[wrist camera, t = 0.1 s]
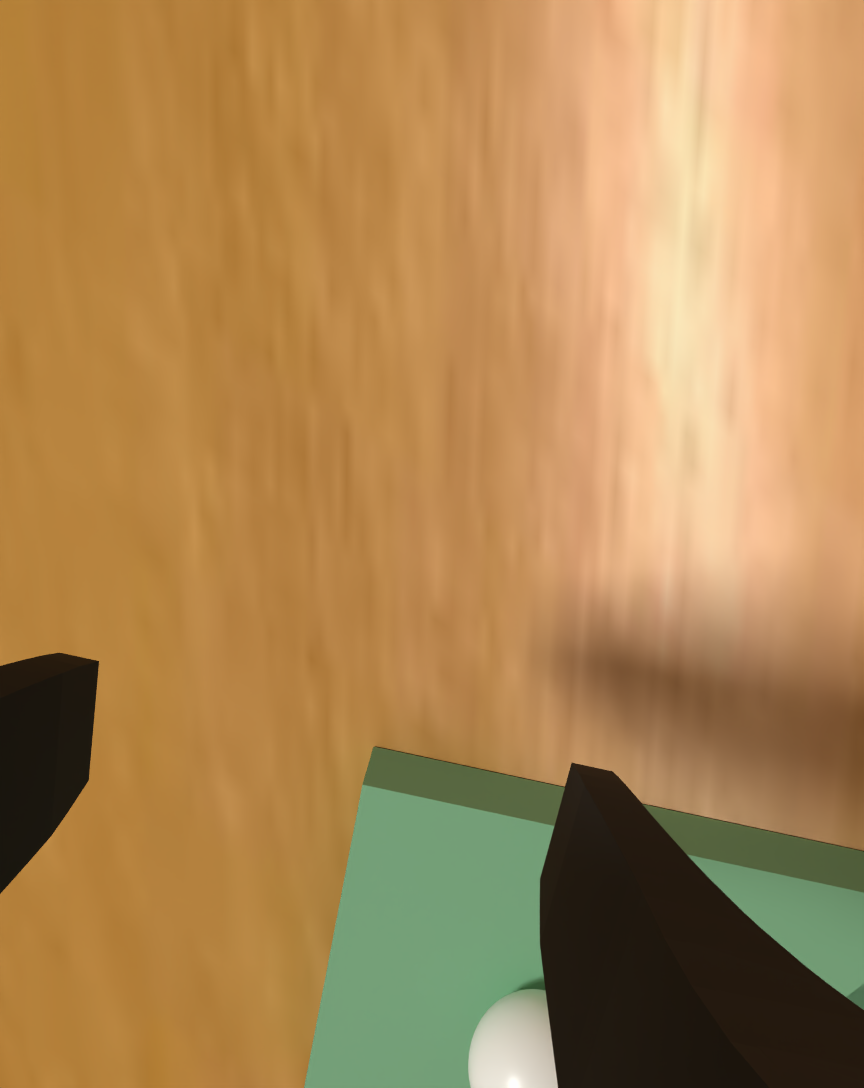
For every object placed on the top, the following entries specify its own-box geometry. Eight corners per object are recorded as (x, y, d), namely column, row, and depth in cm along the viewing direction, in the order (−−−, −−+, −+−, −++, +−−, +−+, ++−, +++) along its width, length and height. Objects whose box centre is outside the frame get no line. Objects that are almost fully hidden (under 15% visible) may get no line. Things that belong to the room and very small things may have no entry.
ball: (579, 1072, 22) (596, 1207, 19) (459, 1045, 22) (452, 1174, 19) (611, 974, 21) (634, 1096, 18) (484, 946, 21) (483, 1062, 18)
